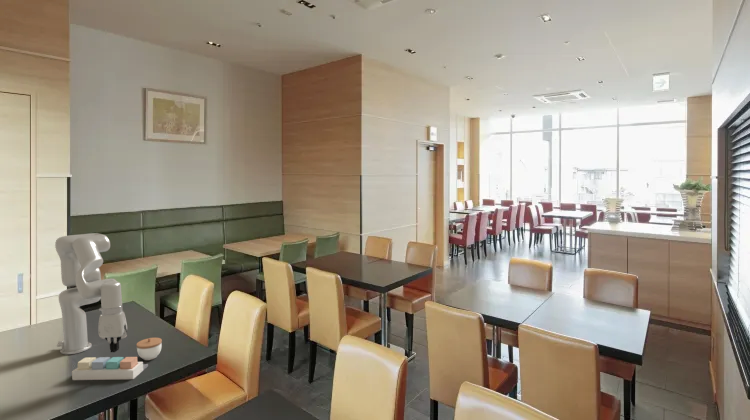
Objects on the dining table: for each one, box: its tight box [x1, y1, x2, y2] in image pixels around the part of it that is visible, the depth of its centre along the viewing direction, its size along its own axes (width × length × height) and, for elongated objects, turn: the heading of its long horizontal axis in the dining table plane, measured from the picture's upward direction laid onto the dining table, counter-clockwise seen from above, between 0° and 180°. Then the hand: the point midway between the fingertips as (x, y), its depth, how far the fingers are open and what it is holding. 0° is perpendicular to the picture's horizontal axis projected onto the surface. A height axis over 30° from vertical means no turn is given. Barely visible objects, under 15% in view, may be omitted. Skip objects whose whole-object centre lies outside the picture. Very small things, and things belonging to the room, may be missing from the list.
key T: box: [106, 356, 125, 369], centre depth 173 cm, size 5×5×5 cm
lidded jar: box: [135, 337, 163, 361], centre depth 190 cm, size 11×11×9 cm
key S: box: [92, 356, 111, 370], centre depth 173 cm, size 5×5×5 cm
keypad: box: [71, 361, 149, 381], centre depth 175 cm, size 26×12×4 cm, turn 92°
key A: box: [120, 356, 139, 369], centre depth 173 cm, size 5×5×5 cm
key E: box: [77, 356, 97, 370], centre depth 173 cm, size 5×5×5 cm
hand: (114, 350), depth 172 cm, fingers closed
